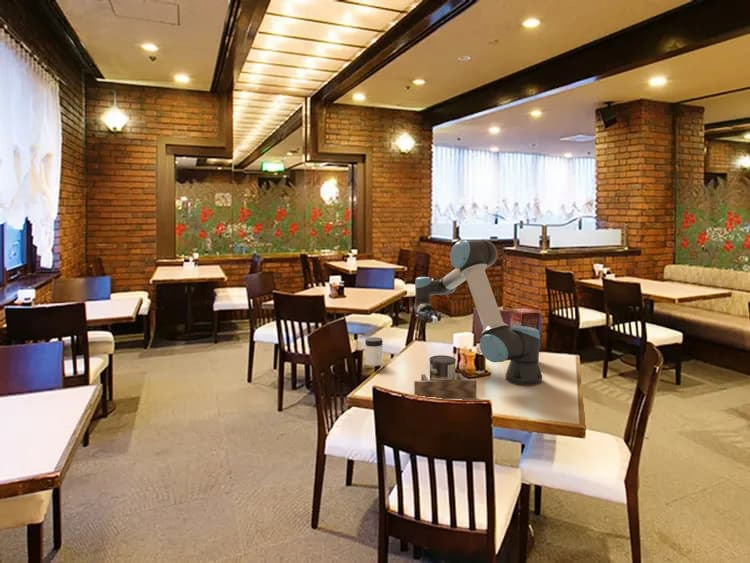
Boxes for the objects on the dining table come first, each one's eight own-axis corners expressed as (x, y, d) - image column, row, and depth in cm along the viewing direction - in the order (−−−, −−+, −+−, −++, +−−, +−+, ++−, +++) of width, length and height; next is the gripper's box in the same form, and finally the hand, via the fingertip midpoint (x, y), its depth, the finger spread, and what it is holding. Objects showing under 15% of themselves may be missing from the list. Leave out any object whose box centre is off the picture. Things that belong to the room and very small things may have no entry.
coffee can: (435, 398, 204) (435, 363, 203) (425, 390, 214) (425, 356, 212) (459, 396, 207) (460, 361, 205) (448, 387, 217) (449, 354, 215)
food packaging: (508, 358, 261) (509, 308, 257) (525, 356, 262) (527, 307, 259) (520, 365, 248) (522, 313, 244) (539, 364, 249) (541, 312, 246)
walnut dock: (469, 389, 215) (470, 372, 214) (476, 397, 205) (476, 380, 204) (411, 391, 213) (411, 374, 212) (414, 399, 203) (415, 382, 202)
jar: (370, 367, 246) (370, 342, 244) (361, 363, 252) (361, 338, 251) (386, 364, 250) (386, 339, 249) (377, 360, 257) (377, 336, 256)
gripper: (439, 319, 255) (450, 329, 232) (412, 320, 254) (421, 330, 231) (439, 303, 254) (450, 312, 231) (412, 304, 253) (421, 313, 230)
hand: (435, 321), depth 231 cm, fingers closed
